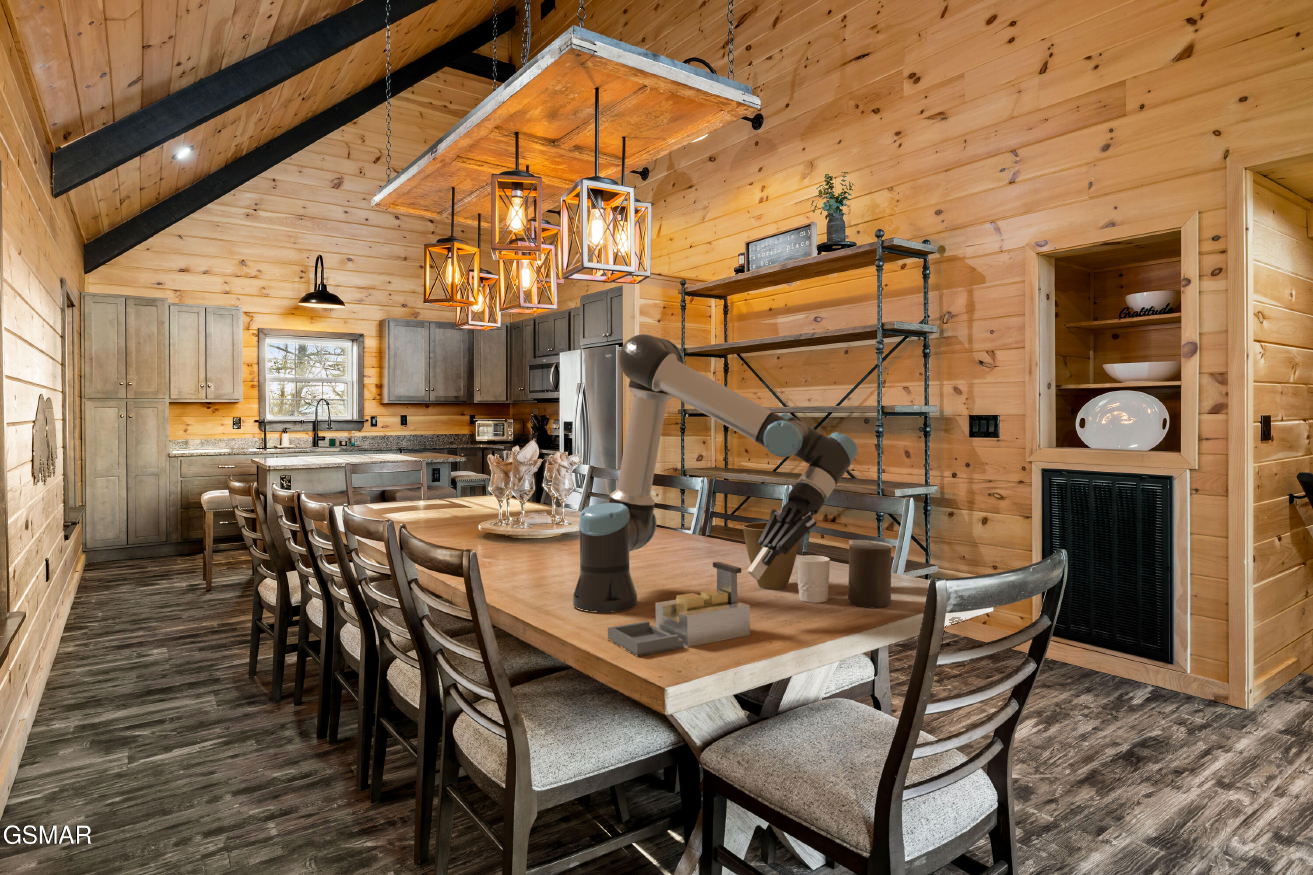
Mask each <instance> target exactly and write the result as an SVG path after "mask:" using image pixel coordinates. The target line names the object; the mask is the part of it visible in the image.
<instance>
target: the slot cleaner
mask: <svg viewBox="0 0 1313 875" xmlns="http://www.w3.org/2000/svg"><path fill="white" fill-rule="evenodd" d="M712 568H715V569H716V589H717V590H720V591H723V592H726V593H728V604H733V603H738V574H742V567H739V566H736V565H733V564H728V563H724V562H722V561H713V562H712Z"/></svg>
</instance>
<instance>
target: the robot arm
mask: <svg viewBox="0 0 1313 875" xmlns="http://www.w3.org/2000/svg"><path fill="white" fill-rule="evenodd" d="M618 359H619V360H618V361H619V366H620V369H621V371H622V373H623V374H624V376H625V377H627V379H629V381H628V390H629V391H630V393H631V395H632V401H631V407H630V412H629V419H628V424H627V427H626V428H627V429H626V435H625V442H624V446H623V453H622V458H621V464H620V471H619V475H618V480H617V487H616V489H614V491H613V492H611V493H610V494H609V498H608V502H604V503H599V504H593V505H589V506H586V507H585V508H583V509H582V510H581V512H580V514H579V523H578V528H579V567H580V568H579V571H580V573H579V576H578V580H577V582H576V586H575V589H574V592H573V595H572V606H573V605H574V606H575V607H577V608H580V609H583V610H588V611H597V612H596V613H598V612H606V613H612V612H611V611H618V612H623V611H628V610H632V609H634V608H635V607H637V606H638V594H637V591H636V588H635V584H634V581H633V578H632V575H631V572H630V552H633V551H635V550H639V549H641V548H643V547H644V546H646V545H647V544H648V543H649V542H650V541H651V539H652V538H653V537H654V536H655V533H656V530H657V517H656V514H655V513H654V511H655V504H656V501H655V499H654V498H653V497H652V495H651V492H652V488H653V487H652V486H653V481H654V476H655V469H656V466H657V460H658V454H659V448H660V443H661V442H660V441H661V436H662V430H663V425H664V420H665V413H666V409H667V403H668V401H669V400H671V399H672V398H676V399H677V400H679V401H681V402H683V403H685V404H686V405H688V406H690V407H692V408H694V409H696V410H697V411H699V412H701V413H703V414H704V415H706V416H708V417H710V418H712V419H714V420H715V421H717V422H719V423H721V424H723V425H724V426H726V427H729V428H731V429H732V430H734V431H735V432H737V433H739V434H741V435H743V436H745V437H747V438H748V439H750V440H752V441H753V442H755V443H757V444H759V445H760V446H762V447H764V448H766V450H767V452H769V453H770V454H772V455H773V456H777V457H779V458H787V457H791V456H794V457H795V458H798V459H800V460H801V461H803V462H804V463H806V464H807V465H808V466H807V467H806V468H805V470H804V471H803V472H802V474H801V475H800V477H799V478H798V479H797V482H796V483H795V484H794V485H793V487H792V488H791V489H790V491H789V493H788V495H787V498H788V500H787V503H786V504H784V505H783V506H782V508H781V509H779V510H776V509H775V508H774V509H771V511H770V515H769V518H768V520H767V522H768V523H767V525H766V527H765V529H764V531H763V533H762V535H761V537H760V539H759V541H758V543H759V544H760V545H761V546H762V548H761V550H760V551H759V553H758V554H757V556H756V557H755V560H754V561H753V563H752V564H751V563H750V565H749V567H748V568H747V573H748V574H749V575H750V576H751V577H752V578H753V579H754V580H756V579H757V580H759V579H760V577H761V576H762V574H763V573H764V571H765V570H766V568H767V567H768V566H769V565H770V564H771V563H772V562H773V560H774V559H775V557H776V556H778V555H779V554H781V553H783V554H784V555H785V554H787V553H788V552H789V551H790V549H791V548H792V547H793V546H794V545H795V544H796V543H797V542H798V541H799V542H800V540H801V539H802V538H803V537H804V536H805V535H806V534H807V532H808V531H810V530H812V528H814V527H815V526H817V521H816V520H815V519H814V518H813V516H815V515H817V514H818V513H819V511H820V510H821V509H822V508H823V506H824V504H825V501H827V499H828V498H829V497H830V495H831V493H832V492H833V490H834V489H835V488H836V486H837V485H838V483H839V482H840V481H841V480H842V478H843V477H844V475H845V473H846V472H847V471H848V470H849V468H850V466H851V465H852V463H853V462H854V460H855V458H856V457H857V455H858V451H859V450H858V446H857V443H856V442H855V441H854V440H853V439H852V438H851V437H850V436H848V435H847V434H845V433H841V432H832V433H831V434H830V435H828V436H826V435H824V434H822V433H820V432H818V430H815V429H814V428H812V427H811V426H809V425H808V424H806V423H804V422H803V421H801V420H799V418H797V417H795V416H793V415H791V414H789V413H787V412H782V413H780V414H777V413H775V412H773V411H772V410H770V409H768V408H766V407H764V406H762V405H760V404H759V403H757V402H754V401H753V400H751V399H749V398H747V397H745V396H744V395H742V394H740V393H738V392H736V391H734V390H732V389H731V388H729V387H727V386H725V385H723V384H721V383H719V382H717V381H716V380H714V379H712V378H710V377H709V376H706V375H705V374H703V373H701V372H699V371H697V370H695V369H694V368H692V367H690V366H688V365H686V360H685V356H684V353H683V352H682V350H681V349H680V348H679V347H678V345H676V344H675V343H674V342H672V341H670V340H668V339H665V338H661V337H657V336H653V335H652V334H651V335H650V334H645V333H643V334H636V335H634V336H631V337H630V338H629V339H627V340H626V342H624V344H623V345H622V346H621V348H620V351H619V356H618ZM757 580H756V581H757Z"/></svg>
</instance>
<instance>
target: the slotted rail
mask: <svg viewBox="0 0 1313 875" xmlns="http://www.w3.org/2000/svg"><path fill="white" fill-rule="evenodd" d="M750 607H751V606H750V604H746V603H744V602H740V601H739V602H737V603H733V604H727V605H721V606H715V607H709V608H703V609H697V610H691V611H685V612H679V616H677V615H676V599H670V600H665V601H658V602H655V627H656V628H658V629H661V630H663V631H665V632H667V633H669V634H671V635H675V634H676V635H678V636H679V638H680V639H682V640H683V647H687V648H690V647H694V646H695V647H696V646H701V645H705V644H711V643H715V642H719V641H725V640H731V639H736V638H742V637H746V636H750V635H751V631H750V630H751V627H750V626H751V617H750V616H751V613H750V612H751V609H750Z"/></svg>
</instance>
